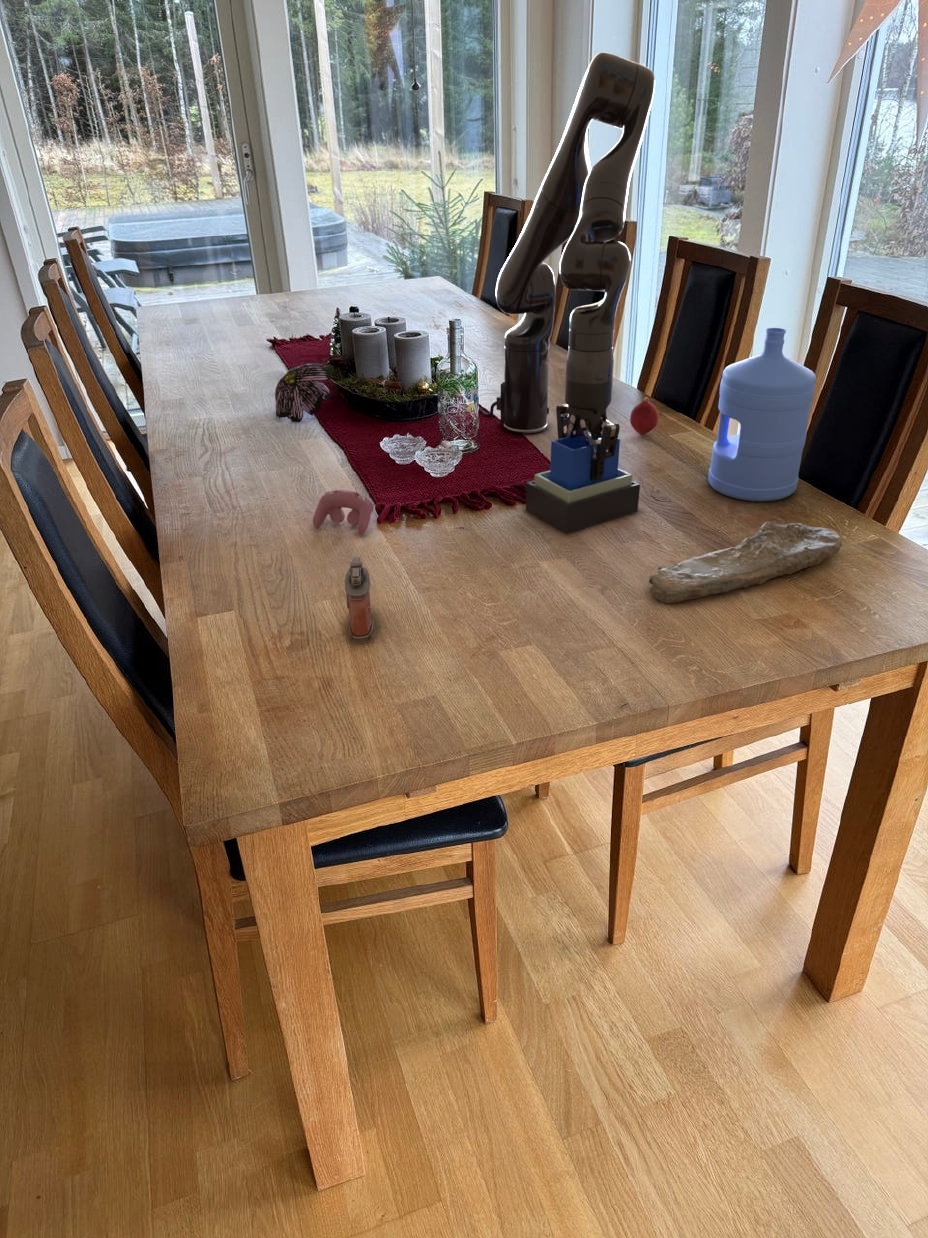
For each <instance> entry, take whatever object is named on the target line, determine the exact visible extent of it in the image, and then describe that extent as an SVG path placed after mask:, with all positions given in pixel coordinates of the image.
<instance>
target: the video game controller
mask: <svg viewBox="0 0 928 1238" xmlns="http://www.w3.org/2000/svg"><path fill="white" fill-rule="evenodd" d="M345 508H346V509H351V511H349V512H348V514H347V516H346V515H345V512H344V510H343V509H345ZM374 508H375V504H374V502H373V500H372V499H370V498H369V497H367V496H365V495H364V494H363V493H360V492H358V491H354V490H348V489H337V490H336V489H335V490H330V491H326V492H325V493H324V494H323V495H322V496H321V497H320V499H319V501H318V503H317V506H316V508H315V511H314V514H313V517H312V524H313V527H314V528H316V529H318V528H320V527H321V526H322V525H323V523H324V522H325V520H326V518H327V517H328V515H329V518H330V520H331V522H333V523H336V524H340V523H343V522H344V520H345V518H346V521H347V523H348V524H349V525H351V526H357V532H358V534H359V535H363V534H364V533H365V532H366V531H367V529H368V528H369V525H370V523H371V518H372V517H371V516H372V514H373V512H374Z"/></svg>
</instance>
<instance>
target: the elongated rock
mask: <svg viewBox="0 0 928 1238" xmlns="http://www.w3.org/2000/svg"><path fill="white" fill-rule="evenodd" d="M841 547H842V538H841V536H840V534H838V532H836V531H834V530H832V529H829V528H827V527H826V528H825V527H814V526H810V525H808V524H803V523H801V522H799V523H797V522H790V523H789V522H788V523H785V524H783V523H778V522H777V521H776V520H772V521H769V520H767V521H764V522H763V523H762V525H761V526H760V528H759V531H756V533H755V534H753V536H748V537H746V538H744V539H743V540H742V541H741V543H739V544H737V545H736V546H731V547H729V548H721V549H718V550H714V551H710V552H707V553H706V554H703V555H701V556H694V557H691V558H688V559H685V560H684V561H678V562H675V563H673V564H671V565H668V566H666V565H665V566H663V567H662V566H660V567H658V569H657V571H655V573H653V574H652V575H650V576H649V577H648V578H649V579H648V583H649V585H651V586H650V588H649V592H650V595H651V596H652V597H653V598H654V599H656V600H657V601H659V602H663V603H665V604H675V603H676V604H677V603H680V602H683V601H687V600H690V599H698V598H704V597H705V596H712V595H716V594H722V593H723V594H724V593H729V592H730V591H732V590H735V589H737V590H738V589H740V588H748V587H749V586H755V585H762V584H764V583H765V582H766V581H769V580H770V579H775V578H777V577H779V576H780V577H782V576H783V575H791V574H793V573H796V572H798V571H801V570H802V569H806V568H809V567H814V566H817V565H820V564H822V563H823V561H824V560H826V559H829V558H832V557H833V556H835V554H837V553H838V552H839V551H840V549H841Z"/></svg>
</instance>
